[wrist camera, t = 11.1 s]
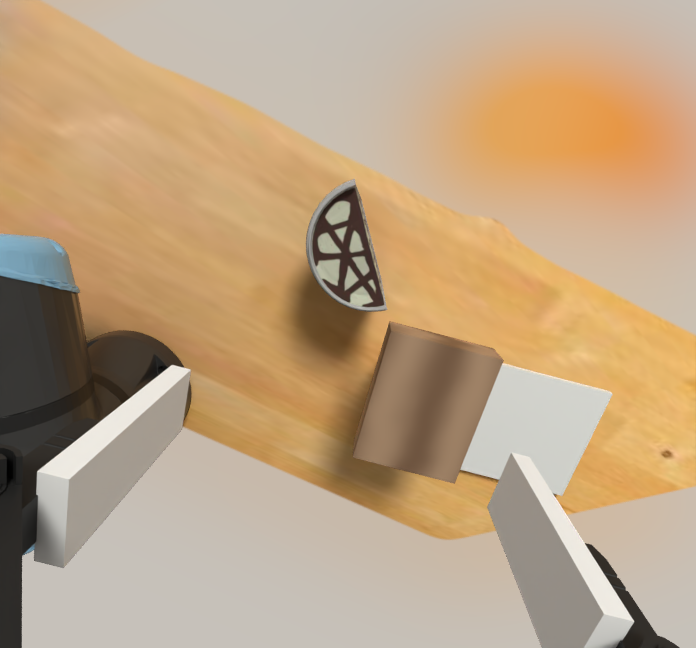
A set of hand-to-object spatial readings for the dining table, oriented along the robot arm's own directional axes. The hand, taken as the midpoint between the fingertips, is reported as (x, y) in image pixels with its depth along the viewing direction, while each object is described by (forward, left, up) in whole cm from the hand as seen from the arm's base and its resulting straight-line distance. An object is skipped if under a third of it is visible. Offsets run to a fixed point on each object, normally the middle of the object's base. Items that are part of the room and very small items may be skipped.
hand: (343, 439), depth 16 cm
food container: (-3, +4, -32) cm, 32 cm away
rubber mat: (+24, -12, -32) cm, 42 cm away
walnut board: (+8, -7, -22) cm, 24 cm away
